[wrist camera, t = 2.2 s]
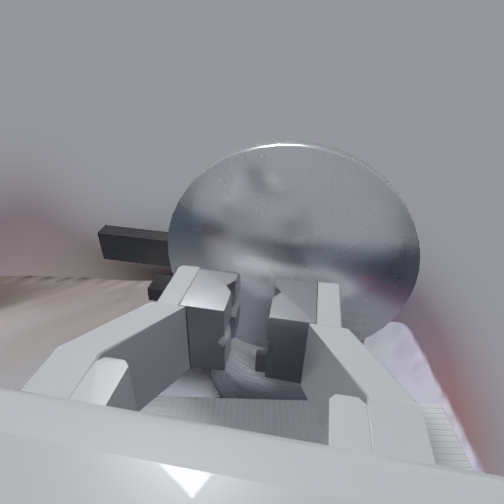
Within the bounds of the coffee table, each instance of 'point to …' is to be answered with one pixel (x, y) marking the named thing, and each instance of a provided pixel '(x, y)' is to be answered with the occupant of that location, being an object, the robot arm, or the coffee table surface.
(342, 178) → the lid
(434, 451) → the grey rectangular block
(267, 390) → the cooker pot
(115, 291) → the coffee table surface
